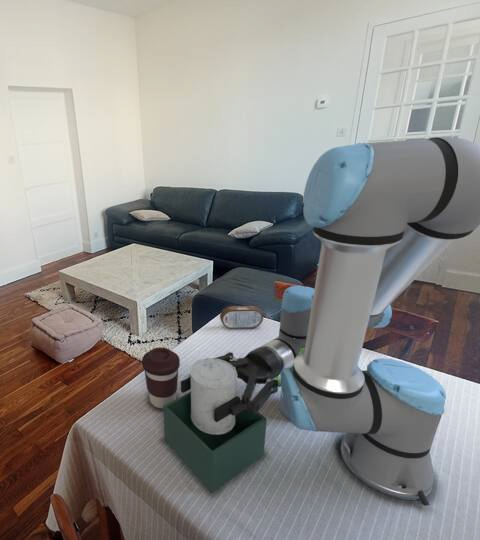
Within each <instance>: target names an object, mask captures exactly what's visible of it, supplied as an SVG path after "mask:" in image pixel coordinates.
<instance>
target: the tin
mask: <svg viewBox="0 0 480 540" xmlns="http://www.w3.org/2000/svg"><path fill="white" fill-rule="evenodd" d="M219 319H220V321H221V323H222V325H223V326H224V327H225V328H227V329H254V328H258V327H259V326H260V325H262V323H263V321H264V314H263V312H262V310H261V309H260V308H259V307H258V306H256V305H231V306H226V307H225V308H223V309H222V310H221V312H220V314H219Z"/></svg>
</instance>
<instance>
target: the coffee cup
mask: <svg viewBox="0 0 480 540" xmlns="http://www.w3.org/2000/svg"><path fill="white" fill-rule="evenodd" d="M141 366H142V369H143V371H144V377H145V382H146V383H145V384H146V389H147V392H148V398H149V402H150V404H151V405H152V406H153V407H154V408H158V409H163V406H164V405H166V404H168V403H170V402H172V401H173V400H175V399H177V390H178V379H179V369H180V366H181V361H180V356H179V355H178V354H177V353H176V352H175V351H173V350H171V349H170V348H167V347H162V346H161V347H160V346H159V347H154V348H152V349H150V350H148V352H146V353H145V354H144V355H143V356H142V358H141Z"/></svg>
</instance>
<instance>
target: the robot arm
mask: <svg viewBox="0 0 480 540" xmlns="http://www.w3.org/2000/svg"><path fill="white" fill-rule="evenodd" d="M302 197H303V198H302V204H303V207H302V213H303V218H304V220H305V222H306V224H308V225H309V226H311V227H313V230H312V233H313V235H314V236H315V237H316V238H317V239H318V240H319V241H320V242H321V247H320V251H319V252H320V253H319V259H318V265H317V272H316V277H315V285H314V288H313V287H310V286H303V285H292V286H289V287H287V288H286V289H285V290H284V292H283V293H282V294H283V295H282V299H281V304H280V318H279V319H280V322H279V329H278V331H279V332H278V336H277V337H275V338H274V339H272V340H270V341H268V342H266V343H263V344H262V345H260V346H259V347H256V348H255V349H252V350H251V351H249V352H248V353H247V354H246V355H245V356H244V357H239V358H237V357H235V356H234V353H233V352H231V351H229V352H227V353H225V354H223V355H220V356H217V357H215V358H216V359H221V360H224V361H226V362H228V363H230V364H231V365H232V366H233V367H234V368H235V369H236V371H237V379H239V380H242V381H243V382H244V383H245V384H246V385H245V389H244V390H243V393H242V394H241V397H240V396H239V395H236V397H235V398H233V399H231V400H230V401H228V402H226V403H225V404H223V405H221V406H220V407H218V408H216V409H215V410H214V421H215V422H219V421H220V420H222V419H224V418H225V417H227V416H228V415H230V414H231V415H233V416H234V415H236V414H238V413H240V412H241V411H243V410H249V411H251V413H252V414H257V413H258V412H259V411H260V410H261V409H262V408H263V406H264V405H265V403H266V402H267V401H268V400H269V398H270V397H271V395H274V394H276V393H277V392H278V389H279V380H278V379H276V378H278V377H280V378H279V379H280V389H281V394H282V399H283V403H284V407H285V410H286V413H287V416H288V419H289V420H290V422H291V423H292V425H293V426H294V427H296V428H297V429H299V430H304V431H311V432H314V433H318V432H319V433H320V432H322V433H323V432H324V433H326V432H327V433H343V434H344V433H345V434H344V436H343V437H342V439H341V444H340V455H341V458H342V460H343V462H344V464H345V466H346V467H347V469H349V471H350V472H351V473H352V474H353V475H354V476H355V477H356V478H357V479H358V480H360V481H361V482H362V483H364V484H365V485H366V486H368V487H369V488H371V489H373V490H375V491H377V492H379V493H380V494H383V495H385V496H388V497H391V498H395V499H399V500H406V501H415V500H420V502H421V504H422V505H423V506H425V507H427V506H430V503H429V500H428V498H427V496H428V495H429V494H430V493H431V492H432V490H433V487H434V484H435V471H434V467H433V461H432V458H431V452H430V451H431V449H432V444H433V443H434V439H435V436H436V433H437V430H438V427H439V425H440V421H441V419H442V416H443V415H444V413H445V404H446V400H447V393H446V390H445V389H444V387H443V386H442V384H441V383H440V382H439V381H438V380H437V379H436V378H435V377H433V376H432V375H430V374H429V373H428V372H426V371H424V370H423V369H420V368H419V367H417V366H414V365H412V364H411V363H410V364H409V363H407V362H404V361H401V360H397V359H392V358H380V357H379V358H375V359H373V360H372V361H369V363H368V364H367V365H366V369H365V370H362V369H361V368H360V367H359V361H360V357H361V355H362V350H363V346H364V341H365V338H366V334H367V330H369V329H379V328H385V327H386V326H388V325H389V324H390V322H391V319H392V315H393V309H392V306H391V305H392V303H394V301H395V300H396V299H397V298H398V297H399V296H400V295H401V294H402V293H403V292H405V290H407V288H408V287H409V286H410V285H411V284H412V283H413V282H414V281H415V280H416V279H417V278H418V277H419V276H420V275H421V274H422V273H423V272H424V271H425V269H426V268H427V267H429V265H430V264H432V263H433V261H435V259H436V258H437V257H439V255H441V253H442V252H443V251H444V250H445V249H446V248H448V246H449V245H450V244H451V243H452V242H453V241H459V240H463V239H465V238H467V237H469V236H470V235H471V234H472V233H473V232H474V231H475V230H476V229H478V228H479V226H480V145H479V144H477V143H475V142H473V141H471V140H469V139H464V138H460V137H453V136H452V137H451V136H437V137H429V138H421V139H405V140H391V141H390V140H389V141H375V142H358V143H354V144H348V145H341V146H336V147H332V148H329V149H328V150H327V151H324V153H322V154H321V155H320V156H319V157H318V159H317V160H316V162H315V163H314V164H313V166H312V168H311V170H310V172H309V174H308V176H307V180H306V182H305V187H304V190H303V196H302ZM294 338H295V339H294ZM303 346H305V351H304V352H302V353H300V354H299V352H300V349H301V348H302V347H303ZM257 385H263V387H262V388H261V389H260V390H259V392H258V393H257V394H256V395H255V397H254V398H253V399H252V396H253V394H254V391H255V389H256V386H257ZM189 391H191V374H190V373H189V375H188V377H186V378H184V379H182V380H180V392H181V393H182V394H184V393H186V392H189ZM240 399H241V400H240Z"/></svg>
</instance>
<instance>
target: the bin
mask: <svg viewBox="0 0 480 540" xmlns="http://www.w3.org/2000/svg"><path fill="white" fill-rule="evenodd" d="M240 400H242V398H240ZM162 410H163V429H164V441H165V443H167V445H168V446H169V447H170V448H171V449H172V451H174V452H175V454H176V455H177V456H178V457H179V458H180V459H181V460H182V461H183V462H184V464H185V465H186V466H187V467H188V468H189V470H190V471H192V473H193V474H194V475H195V476H196V477H197V478H198V480H199V481H201V483H202V484H203V485H204V486H205V487H206V488H207V489H208V491H209V492H210V493H211V494H213V493H214V492H215V491H217V490H219V489H220V488H221V487H222V486H224V485H225V484H226V483H228V482H230V480H232V479H233V478H235V477H236V476H237V475H239V474H240V473H241V472H242V471H244V470H245V469H247V468H248V467H249V466H251V465H252V464H254V463H255V462H256V461H258V460H259V459H260V458H262V457H263V456H264V453H265V443H266V441H265V440H266V431H267V421H268V420H267V419H268V418H267V417H265V416H264V415H263V414H261V413H260V412H259V411H258V413H257V414H252V413H251V411H249V410H243V411H241V412H240V413H238V414H236V415H235V425H234V427H233V428H232V429H231V430H230V431H229V432H227V433H224V434H219V435H214V434H209V433H205V432H203V431H201V430H200V429H198V428H197V427H196V426H195V425H194V423H193V422H192V419H191V390H189V391H187V393H185V394H183V395H181V396H179V397H176V399H175V400H173V401H172V402H170V403H168V404H166V405H164V406H163V408H162Z"/></svg>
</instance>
